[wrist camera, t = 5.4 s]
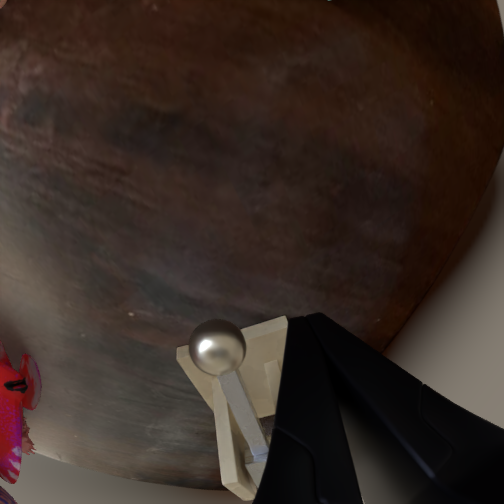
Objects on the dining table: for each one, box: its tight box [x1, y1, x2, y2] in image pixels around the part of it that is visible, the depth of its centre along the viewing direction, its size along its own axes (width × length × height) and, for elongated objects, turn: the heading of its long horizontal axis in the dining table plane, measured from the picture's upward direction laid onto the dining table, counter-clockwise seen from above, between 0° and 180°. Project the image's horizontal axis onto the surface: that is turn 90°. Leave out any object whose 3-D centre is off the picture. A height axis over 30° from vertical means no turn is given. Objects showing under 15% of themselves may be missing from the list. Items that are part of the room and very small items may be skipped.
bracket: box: [177, 315, 288, 501], centre depth 20 cm, size 10×8×10 cm
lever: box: [189, 319, 271, 488], centre depth 17 cm, size 12×3×3 cm, turn 16°
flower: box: [22, 417, 36, 455], centre depth 21 cm, size 8×8×6 cm
